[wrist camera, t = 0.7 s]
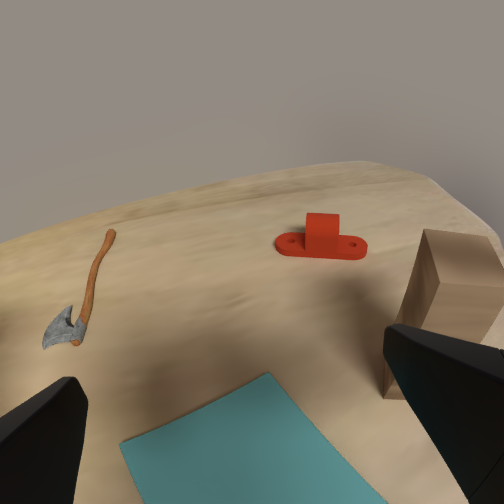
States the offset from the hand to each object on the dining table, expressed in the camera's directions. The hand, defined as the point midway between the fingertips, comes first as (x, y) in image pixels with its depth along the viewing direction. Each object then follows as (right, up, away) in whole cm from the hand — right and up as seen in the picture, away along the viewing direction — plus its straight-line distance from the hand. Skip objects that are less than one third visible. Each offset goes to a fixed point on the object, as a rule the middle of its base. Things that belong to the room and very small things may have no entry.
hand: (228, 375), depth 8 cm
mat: (+1, -14, +8) cm, 16 cm away
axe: (-22, -2, +29) cm, 37 cm away
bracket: (+9, +3, +30) cm, 32 cm away
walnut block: (+14, -7, +15) cm, 22 cm away
